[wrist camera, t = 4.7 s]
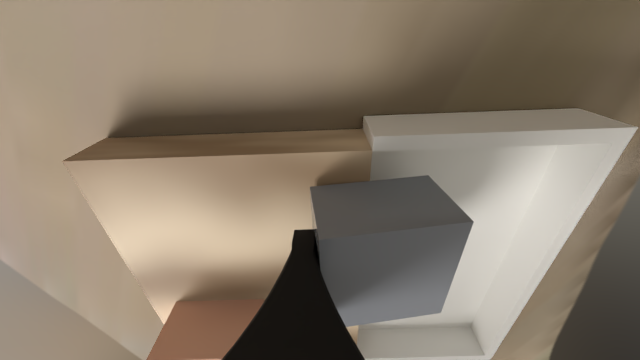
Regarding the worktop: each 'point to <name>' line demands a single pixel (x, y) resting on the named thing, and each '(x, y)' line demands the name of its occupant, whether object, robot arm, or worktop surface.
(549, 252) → the tray
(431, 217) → the grey block
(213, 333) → the salmon pink block
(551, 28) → the worktop surface
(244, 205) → the board
